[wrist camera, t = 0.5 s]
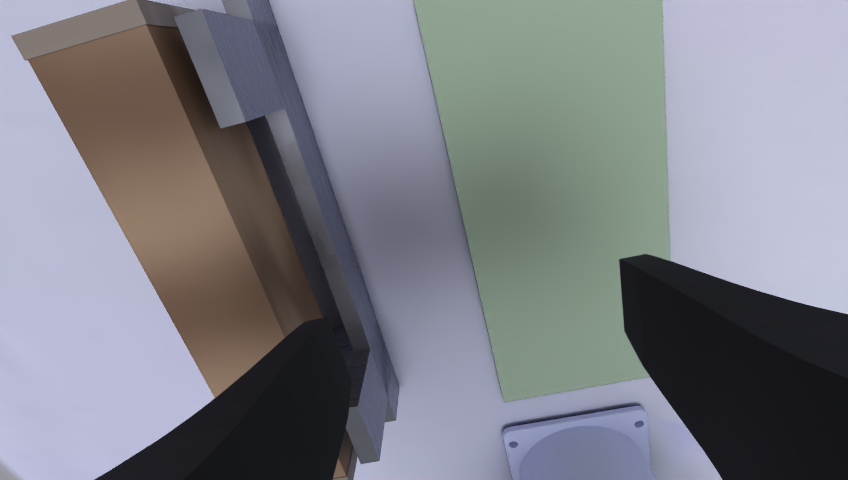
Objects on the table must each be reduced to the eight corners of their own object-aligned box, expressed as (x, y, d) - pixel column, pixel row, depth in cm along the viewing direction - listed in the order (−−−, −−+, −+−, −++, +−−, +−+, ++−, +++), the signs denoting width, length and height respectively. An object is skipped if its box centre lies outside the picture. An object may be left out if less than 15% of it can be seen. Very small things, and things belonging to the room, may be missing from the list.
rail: (364, 419, 21) (351, 487, 17) (294, 431, 21) (269, 500, 18) (204, 12, 14) (135, -3, 11) (107, 41, 14) (11, 35, 11)
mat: (669, 367, 23) (673, 372, 23) (502, 396, 24) (504, 402, 24) (654, -68, 16) (660, -71, 15) (413, 1, 17) (413, -1, 16)
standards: (399, 386, 24) (389, 485, 18) (299, 405, 24) (260, 505, 19) (262, -18, 16) (175, -57, 11) (123, 24, 17) (-25, 7, 11)
